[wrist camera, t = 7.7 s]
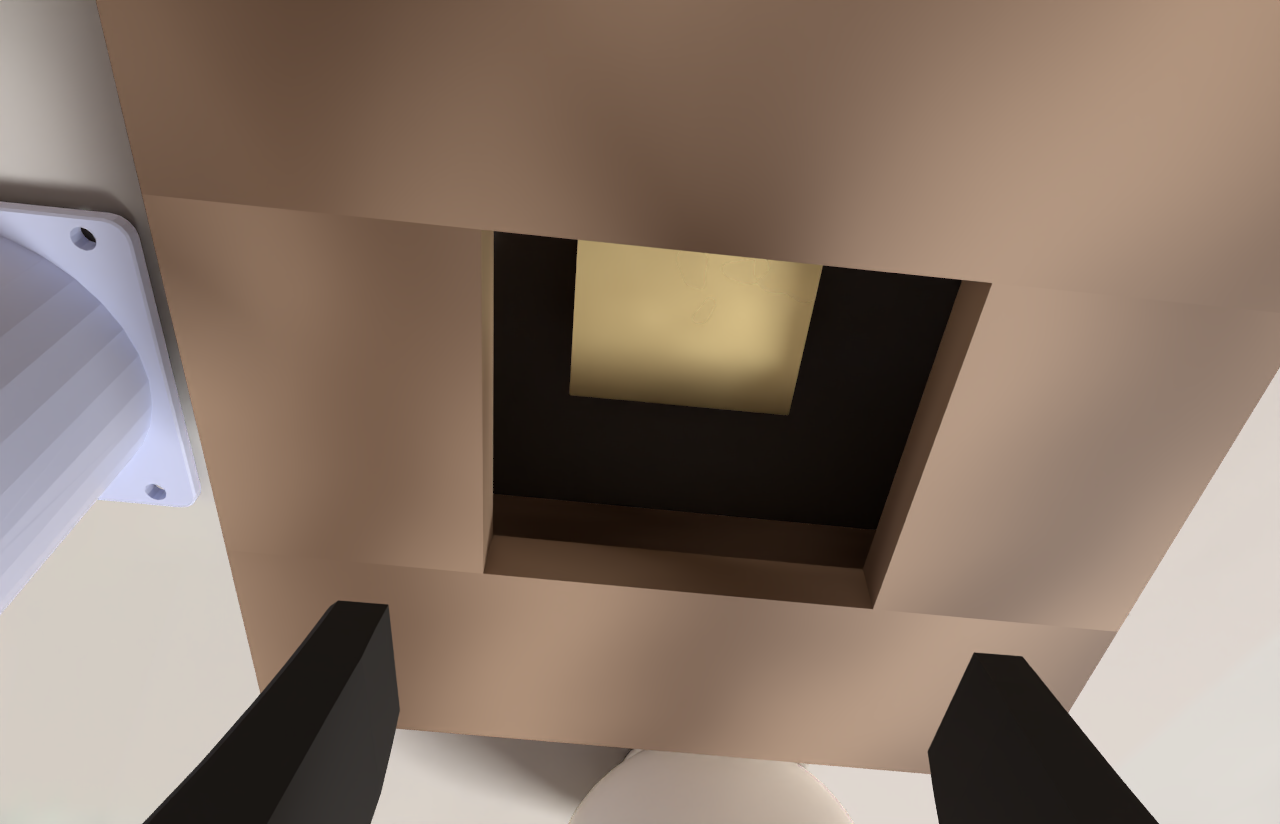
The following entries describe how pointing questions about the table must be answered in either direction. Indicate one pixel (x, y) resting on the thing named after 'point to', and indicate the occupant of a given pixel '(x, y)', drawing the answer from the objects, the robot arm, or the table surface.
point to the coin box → (726, 225)
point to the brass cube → (689, 327)
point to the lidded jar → (708, 792)
